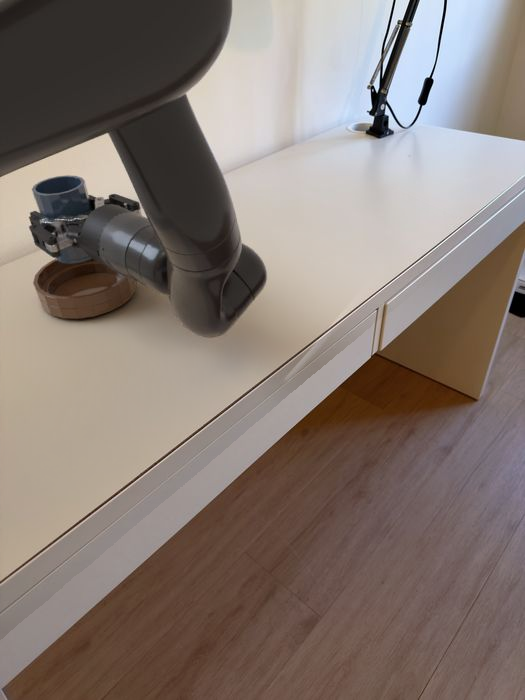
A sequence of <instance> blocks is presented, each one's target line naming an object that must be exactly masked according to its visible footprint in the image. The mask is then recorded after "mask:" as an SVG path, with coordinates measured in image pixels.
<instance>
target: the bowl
mask: <svg viewBox="0 0 525 700" xmlns="http://www.w3.org/2000/svg"><path fill="white" fill-rule="evenodd" d="M32 284H33V287H34V290H35V293H36V295H37V298H38V300H39V303H40V305H41V308H42V309H43V311H45V312H47V313H48V314H49V315H51V316H52V317H53V316H54V317H58V318H61V319H78V320H79V319H85V318H86V319H87V318H91V317H92V318H93V317H96V316H100V315H103V314H106V313H108V312H111V311H113V310H115V309H117V308H119V307H121V306H123V305H124V304H125V303H126V302H128V301H129V300H130V299H131V298H132V297H133V295H134V293H135V292H136V290H137V281H135V280H132V279H129V278H127V277H124V276H122V275H121V274H119V273H117V272H115V271H113V270H111V269H110V268H108V267H106V266H104V265H103V264H101V263H99V262H97V261H95V260H94V259H91V260H88V261H85V262H81V263H74V264H66V263H61V262H59V261H57V260H56V259H55V258H54V259H52V260H50V261H48V262H47V263H46V264H44V265H43V266H42V267H40V268H39V270H38V271H37V272H36V273H35V275H34V278H33V282H32Z"/></svg>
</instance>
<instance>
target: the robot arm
mask: <svg viewBox="0 0 525 700" xmlns="http://www.w3.org/2000/svg"><path fill="white" fill-rule="evenodd" d="M232 16H233V0H0V178H1V177H4V176H6V175H8V174H12V173H14V172H15V171H17V170H20V169H23V168H25V167H27V166H30V165H32V164H34V163H37V162H39V161H43V160H45V159H47V158H49V157H51V156H55V155H57V154H59V153H62V152H64V151H67V150H70V149H72V148H75V147H76V146H79V145H81V144H84V143H86V142H89V141H92V140H94V139H96V138H97V139H98V138H99V137H102V136H104V135H107V134H108V136H109V138H110V140H111V142H112V144H113V146H114V148H115V150H116V153H117V155H118V156H119V158H120V162H121V163H122V165H123V167H124V169H125V171H126V174H127V175H128V178H129V180H130V183H131V185H132V187H133V189H134V191H135V194H136V196H137V199H138V200H139V201H137V200H135V199H131V198H129V197H125V196H123V195H120V194H118V193H111V194H109V195H108V198H105V197H103V196H97V197H96V196H94V195H92V194H88V195H89V199H90V202H91V206H92V210H93V211H92V210H91V211H89V212H86V213H85V214H83V215H81V214H79V215H78V216H66V215H60V216H58V217H57V218H56V219H55V218H48V217H46V216H45V215H43V214H41V213H39V211H38V210H32V211H30V212H29V215H30V216H28V220H29V222H30V225H28V226H29V227H28V228H29V231H30V233H31V237H32V238H33V243H34V245H35V246H36V247H38V248H39V249H40V250H41V251H43V252H45V253H46V254H47V255H49V256H50V257H51V258H54V259H55V258H57V257H60V256H61V255H62V253H61V249H63V248H66V247H68V246H71V247H73V248H80V249H83V250H84V251H85V252H86V253H87V254H88V255H89V256H90V257H91V258H92V259H94V260H95V261H97V262H99V263H101V264H103V265H104V266H106V267H108V268H110V269H111V270H113V271H115V272H117V273H119V274H121V275H122V276H124V277H127V278H129V279H132V280H135V281H136V282H137V283H140V284H141V285H143V286H145V287H147V288H149V289H150V290H151V291H154V292H155V293H158V294H160V295H162V296H166V297H168V298H169V302H170V306H171V308H172V311H173V313H174V315H175V317H176V318H177V319H178V321H179V322H180V324H181V325H182V326H183V327H184V328H185V329H187V331H189V332H191V333H192V334H193V335H195V336H197V337H200V338H205V339H214V338H219V337H221V336H223V335H225V334H226V333H228V332H229V331H230V330H231V329H232V328H233V326H234V325H235V324H236V322H237V321H238V320H239V319H240V318H241V317H242V316H243V314H244V313H245V312H246V311H247V309H248V308H249V307H250V306H251V305H252V304H253V303H254V301H255V300H256V299H257V298H258V297H259V295H260V294H261V293H262V291H263V290H264V289H265V287H266V284H267V281H268V270H267V267H266V264H265V262H264V261H263V259H262V257H261V256H260V255H259V254H258V253H257V252H256V251H255V250H254V249H253V248H251V247H250V246H248V245H247V244H245V243H243V242H242V235H241V230H240V226H239V221H238V217H237V214H236V210H235V206H234V202H233V199H232V196H231V193H230V190H229V187H228V184H227V182H226V179H225V177H224V174H223V172H222V170H221V167H220V165H219V164H218V163H219V162H217V159H216V157H215V155H214V152H213V151H212V148H211V146H210V144H209V142H208V140H207V138H206V136H205V133H204V132H203V130H202V127H201V125H200V123H199V121H198V119H197V116H196V113H195V112H194V110H193V109H194V108H193V107H192V104H191V102H190V100H189V97H188V95H187V93H188V92H189V91H191V90H192V89H193V88H194V87H195V86H197V85H198V84H199V83H200V82H201V80H202V79H203V78H204V77H205V76H206V74H208V72H209V71H210V70H211V68H212V67H213V66H214V65H215V63H216V61H217V60H218V58H219V56H220V55H221V53H222V51H223V49H224V48H225V44H226V42H227V38H228V35H229V33H230V29H231V23H232ZM140 205H141V206H140ZM141 207H142V209H143V212H144V214H145V216H146V217H145V216H143V215H142V214H143V213H142V210H141ZM66 224H68V229H67V227H66ZM52 226H55V227H56V229H57V232H53V229H52Z"/></svg>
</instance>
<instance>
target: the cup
mask: <svg viewBox="0 0 525 700" xmlns="http://www.w3.org/2000/svg"><path fill="white" fill-rule="evenodd" d="M31 192H32V194H33V197H34V201H35V204H36V206H37V211H38V212H39V213H41V214H43V215H45V216H46V217H48V218H55V219H56V218H57V217H58V216H60V215H66V216H78V215H79V214H81V215H83V214H85V213H86V212H89V211H91V210H92V206H91V202H90V199H89V195H90V194H89V192H88V188H87V184H86V180H84V178H83V177H81V176H77V175H57V176H53V177H48V178H46V179H43V180H40V181H39V182H37V183H35V184H33V186H32V188H31ZM92 211H93V210H92ZM66 227H67V229H68V224H66ZM52 229H53V232H57V229H56V227H55V226H52ZM61 253H62V255H61V256H60V257H57V258H54V259H56V260H57V261H59V262H61V263H66V264H74V263H81V262H85V261H88V260H91V259H92V258H91V257H90V256H89V255H88V254H87V253H86V252H85V251H84V250H83V249H80V248H73V247H71V246H68V247H66V248H63V249H61Z"/></svg>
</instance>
